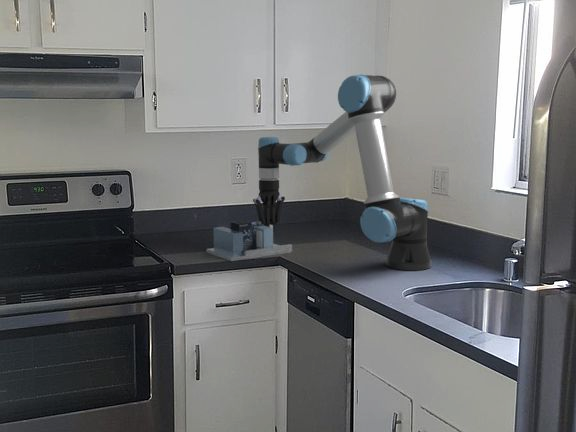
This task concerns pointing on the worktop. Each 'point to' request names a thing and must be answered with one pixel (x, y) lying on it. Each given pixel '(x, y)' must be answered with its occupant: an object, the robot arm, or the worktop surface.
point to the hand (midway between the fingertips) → (269, 241)
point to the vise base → (254, 252)
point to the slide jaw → (263, 236)
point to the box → (246, 232)
